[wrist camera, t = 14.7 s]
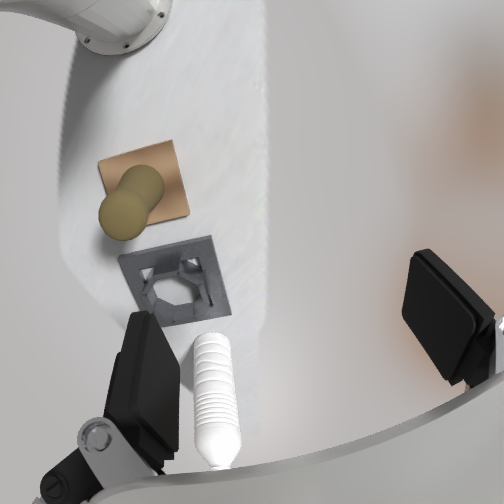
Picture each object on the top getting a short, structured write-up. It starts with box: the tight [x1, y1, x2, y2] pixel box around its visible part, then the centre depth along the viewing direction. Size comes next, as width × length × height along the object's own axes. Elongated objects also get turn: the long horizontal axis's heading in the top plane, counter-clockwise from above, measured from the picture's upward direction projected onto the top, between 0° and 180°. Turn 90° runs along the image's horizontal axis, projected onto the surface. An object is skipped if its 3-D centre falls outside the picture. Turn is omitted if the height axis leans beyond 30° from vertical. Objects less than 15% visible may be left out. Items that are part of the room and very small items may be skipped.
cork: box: [99, 164, 165, 241], centre depth 31 cm, size 6×6×11 cm
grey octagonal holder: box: [118, 235, 232, 327], centre depth 44 cm, size 14×14×4 cm
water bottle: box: [194, 332, 242, 471], centre depth 42 cm, size 9×6×25 cm
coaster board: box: [98, 140, 190, 225], centre depth 37 cm, size 10×10×1 cm
